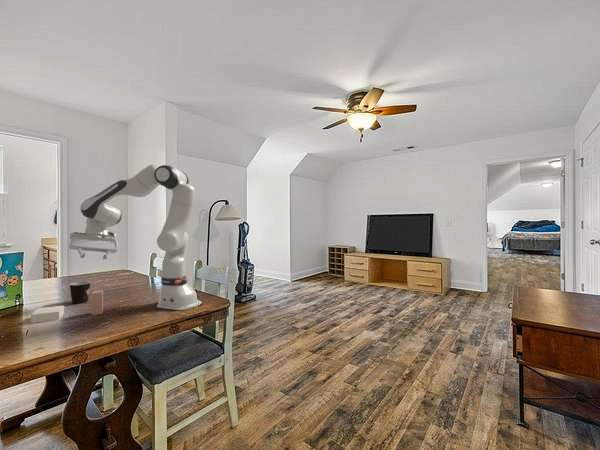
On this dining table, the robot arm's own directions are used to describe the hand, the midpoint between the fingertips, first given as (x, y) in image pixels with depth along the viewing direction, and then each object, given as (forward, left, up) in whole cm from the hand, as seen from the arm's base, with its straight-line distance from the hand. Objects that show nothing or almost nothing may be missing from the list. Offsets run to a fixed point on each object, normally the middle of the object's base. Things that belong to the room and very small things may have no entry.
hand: (93, 258), depth 139 cm
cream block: (-1, +19, -25) cm, 31 cm away
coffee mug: (+13, -1, -24) cm, 28 cm away
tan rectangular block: (-12, +5, -24) cm, 28 cm away
